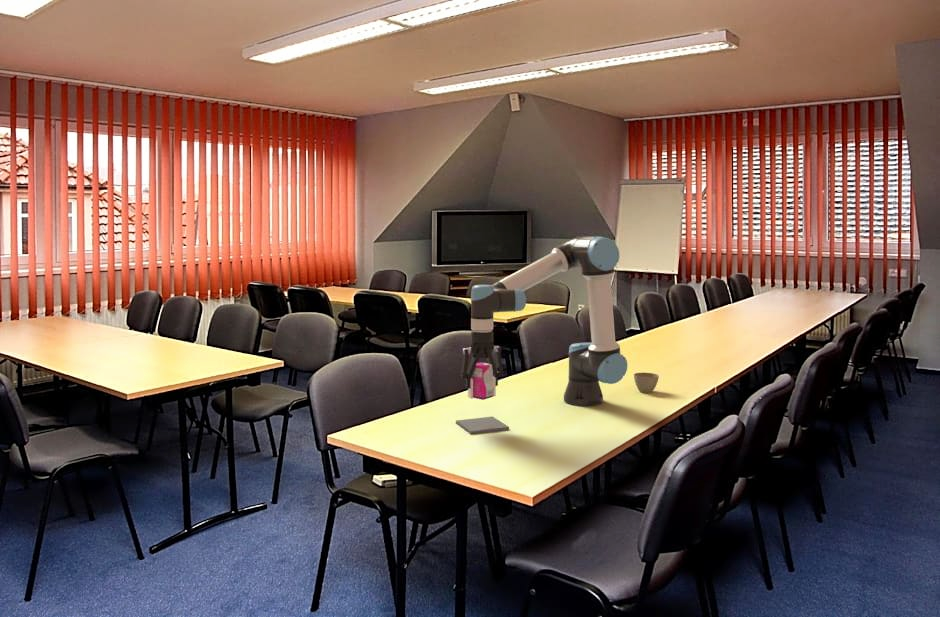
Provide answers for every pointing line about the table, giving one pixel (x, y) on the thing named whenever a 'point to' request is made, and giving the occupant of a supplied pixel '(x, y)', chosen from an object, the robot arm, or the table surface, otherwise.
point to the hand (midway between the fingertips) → (481, 396)
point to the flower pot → (646, 381)
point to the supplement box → (482, 381)
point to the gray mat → (482, 425)
